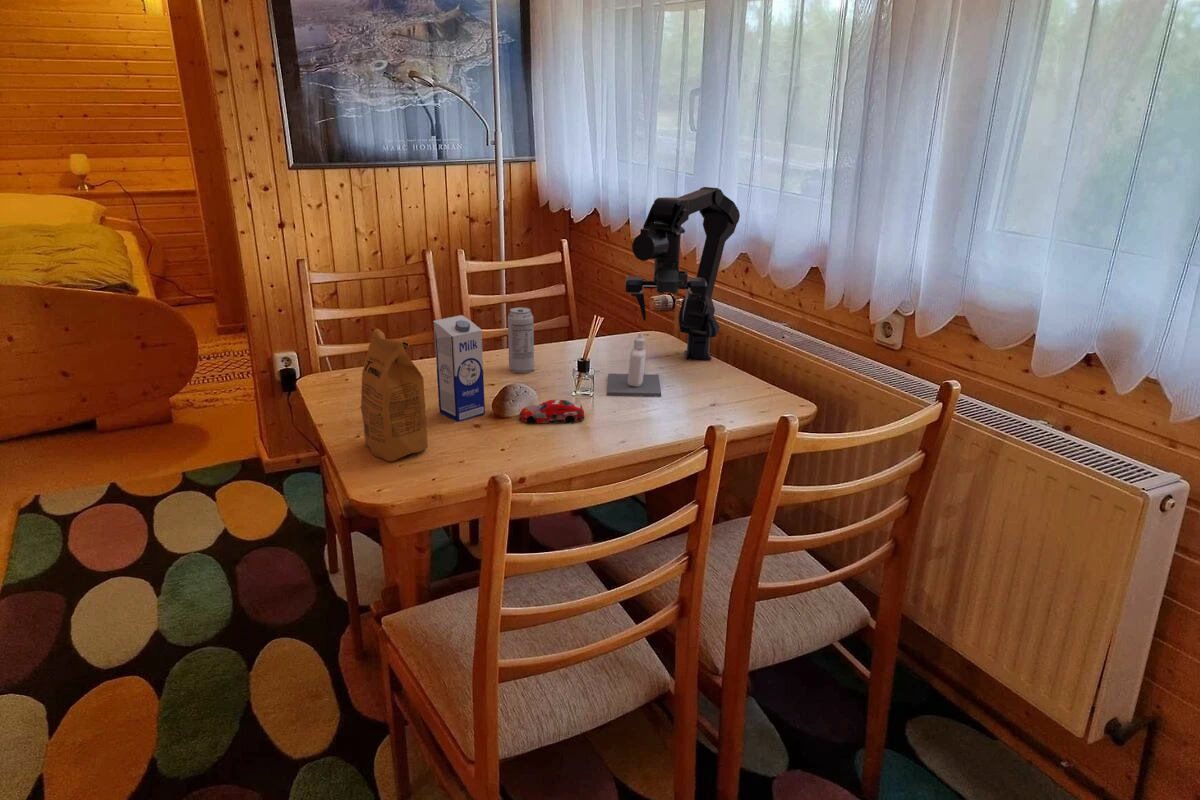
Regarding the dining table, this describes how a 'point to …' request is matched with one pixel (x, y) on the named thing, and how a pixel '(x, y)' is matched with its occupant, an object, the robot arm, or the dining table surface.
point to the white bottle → (637, 362)
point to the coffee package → (392, 400)
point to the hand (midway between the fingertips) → (664, 320)
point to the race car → (553, 412)
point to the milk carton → (459, 368)
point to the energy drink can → (521, 340)
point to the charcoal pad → (621, 387)
